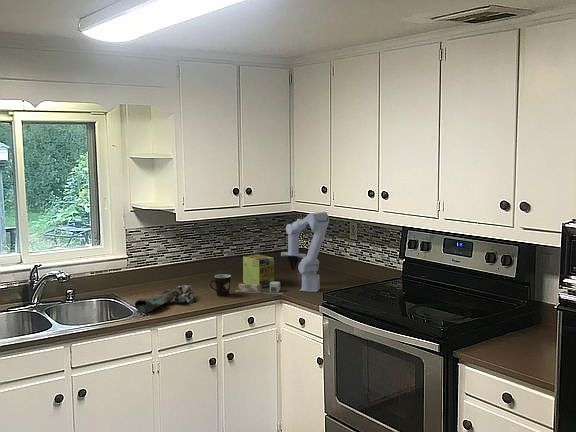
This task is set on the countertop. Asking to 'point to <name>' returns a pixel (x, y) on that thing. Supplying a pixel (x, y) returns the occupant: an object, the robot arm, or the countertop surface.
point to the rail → (260, 292)
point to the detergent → (154, 301)
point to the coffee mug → (222, 284)
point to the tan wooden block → (249, 287)
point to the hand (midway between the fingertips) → (293, 269)
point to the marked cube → (274, 286)
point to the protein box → (258, 270)
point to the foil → (184, 294)
